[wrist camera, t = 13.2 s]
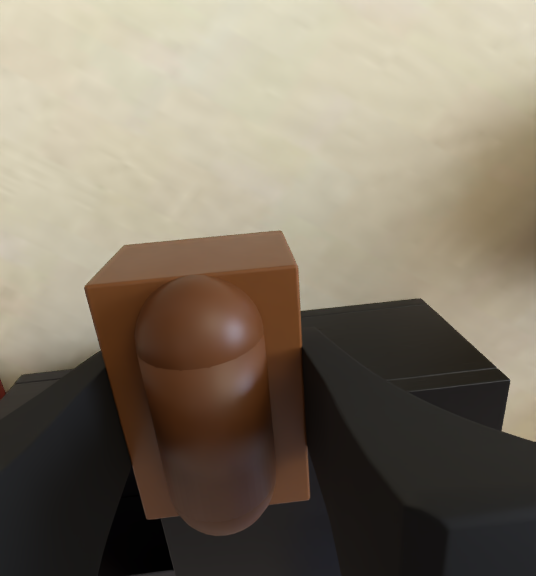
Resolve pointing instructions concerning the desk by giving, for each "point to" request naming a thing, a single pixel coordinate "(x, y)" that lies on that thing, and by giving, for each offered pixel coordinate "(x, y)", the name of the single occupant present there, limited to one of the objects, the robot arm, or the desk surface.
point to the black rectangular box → (311, 513)
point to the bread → (207, 375)
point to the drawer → (130, 513)
